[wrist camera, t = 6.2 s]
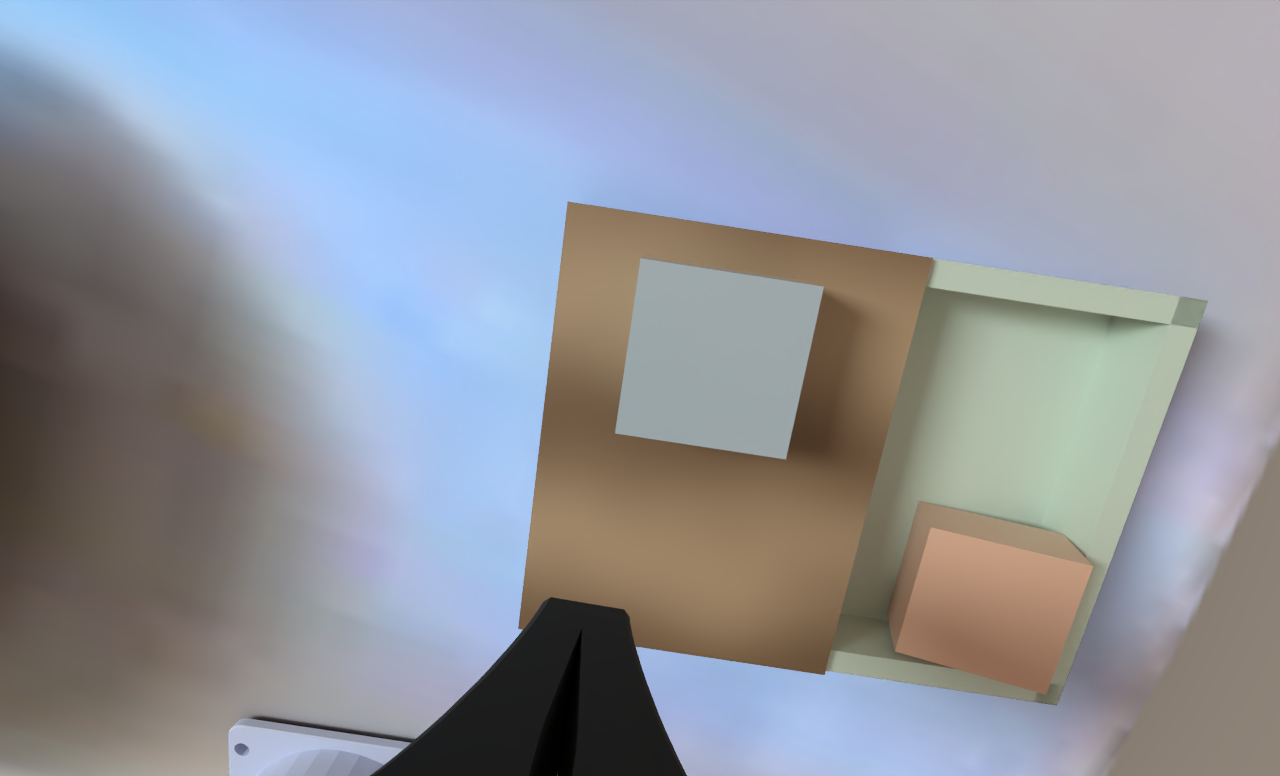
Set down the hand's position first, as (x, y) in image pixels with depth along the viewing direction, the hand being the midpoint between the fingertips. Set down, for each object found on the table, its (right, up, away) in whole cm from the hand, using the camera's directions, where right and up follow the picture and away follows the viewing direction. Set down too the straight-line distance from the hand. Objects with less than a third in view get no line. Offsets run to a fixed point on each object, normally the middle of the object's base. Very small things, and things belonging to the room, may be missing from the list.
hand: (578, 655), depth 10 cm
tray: (+11, +2, +9) cm, 14 cm away
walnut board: (+3, +3, +9) cm, 10 cm away
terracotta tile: (+11, -2, +7) cm, 13 cm away
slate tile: (+3, +5, +6) cm, 8 cm away
